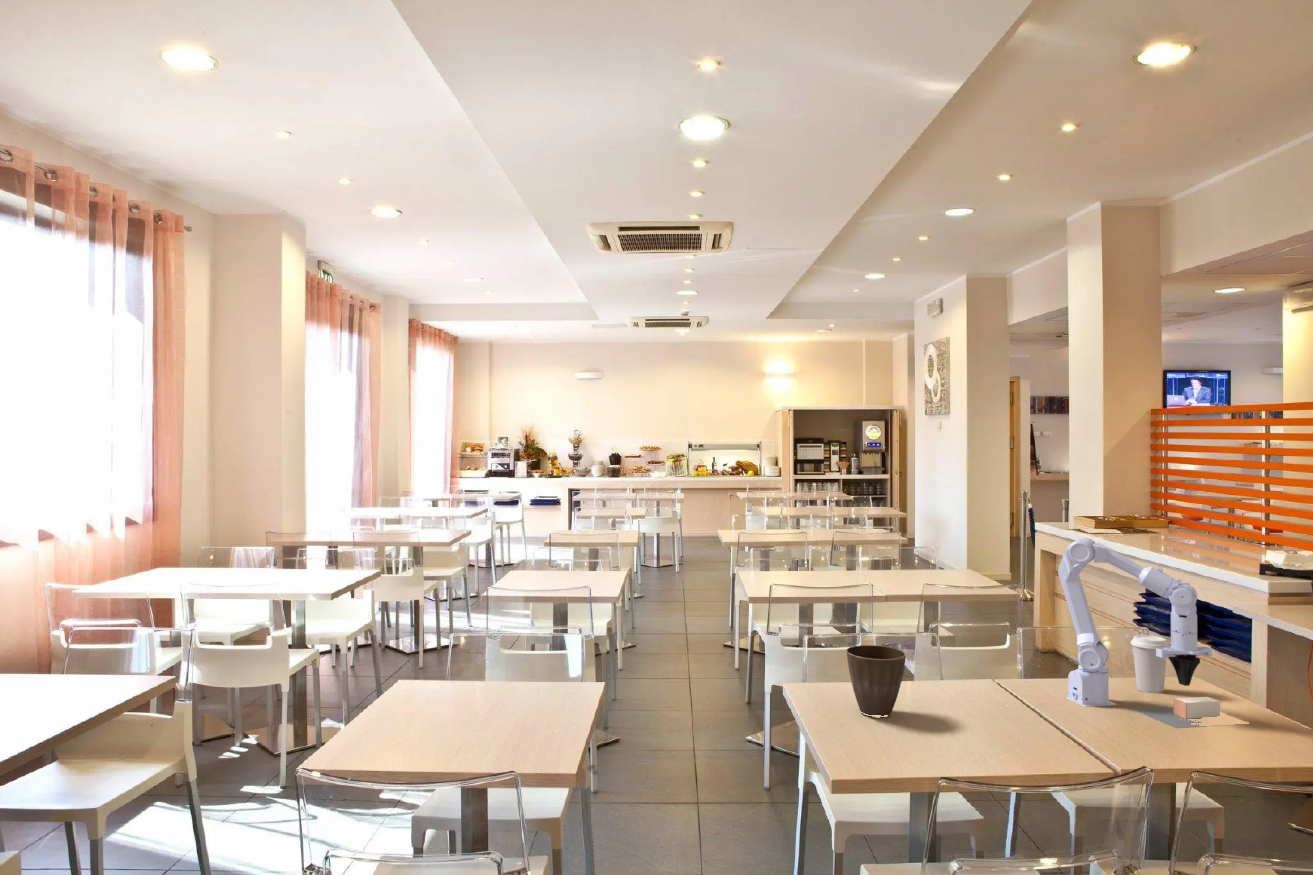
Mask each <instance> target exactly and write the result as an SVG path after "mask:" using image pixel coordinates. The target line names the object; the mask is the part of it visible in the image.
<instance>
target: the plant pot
mask: <svg viewBox="0 0 1313 875" xmlns="http://www.w3.org/2000/svg"><path fill="white" fill-rule="evenodd" d="M845 652H846V656H847V657H846V658H847V666H848V673H849V677H850V681H851V686H852V688H853V694H854V697H855V699H856V700H855V701H856V703H857V707H858V708H859V711H861V712H863V713H865V714H868V715H881V716H884V715H890V714H892V712H893V710H894V708H895V704H896V702H897V699H898V696H899V693H900V688H901V685H902V684H901V683H902V682H903V681H902V680H903V676H904V670H905V663H906V658H907V653H906V652H905V651H903V650H901V649H898V648H897V647H896V648H895V647H892V646H891V647H890V646H885V645H876V644H875V645H872V644H868V645H867V644H866V645H865V644H864V645H863V644H861V645H854V646H850V647H847V649H846V651H845ZM861 712H860V713H861ZM890 716H891V715H890Z"/></svg>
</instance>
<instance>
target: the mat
mask: <svg viewBox="0 0 1313 875" xmlns="http://www.w3.org/2000/svg"><path fill="white" fill-rule="evenodd" d="M1168 706H1169V705H1168ZM1168 706H1167V705H1166V706H1147V707H1145V706H1144V707H1143V706H1142V707H1130V708H1128V709H1130V710H1132V711H1135V712H1137V713H1138V714H1141V715H1144V716H1146V717H1149V718H1151V719H1154V720H1156V721H1159V722H1160V723H1162V724H1166V725H1168V726H1170V727H1173V728H1175V729H1185V728H1206V726H1199V724H1198V725H1197V724H1196V725H1191V723H1202V722H1199V721H1198V722H1194V721H1191V720H1189V721H1188V719H1185V718H1183V717H1180V716H1178V715H1175V714H1174V709H1173V707H1168ZM1180 719H1181V720H1180ZM1191 719H1201V718H1191ZM1195 721H1196V720H1195Z"/></svg>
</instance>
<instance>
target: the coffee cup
mask: <svg viewBox="0 0 1313 875" xmlns="http://www.w3.org/2000/svg"><path fill="white" fill-rule="evenodd" d="M1130 645H1132V653H1133V664H1134V671H1135V673H1134V674H1135V681H1136V690H1137V689H1138V690H1140V691H1139V692H1141V691H1143V692H1142V693H1144V692H1147V693H1146V694H1160V693H1161V692H1162V693H1164V692H1163V691H1164V690H1165V680H1166V679H1165V678H1166V667H1167V658H1168V657H1165V658H1161V657H1158V656H1156V649H1158V648H1165V647H1170V644H1169V643H1168V642H1167V639H1165V638H1164V637H1161V636H1156V635H1147V634H1146V635H1145V634H1138V635H1134V636H1133V638H1132V639H1131V641H1130ZM1138 690H1137V691H1138ZM1148 692H1149V693H1148ZM1162 693H1161V694H1162Z"/></svg>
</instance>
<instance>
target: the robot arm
mask: <svg viewBox="0 0 1313 875" xmlns="http://www.w3.org/2000/svg"><path fill="white" fill-rule="evenodd" d="M1062 555H1063V556H1062V558H1061V562H1060V564H1059V567H1058V570H1057V573H1058V577H1059V580H1060V583H1061V586H1062V589H1063V593H1064V597H1065V600H1066V604H1067V607H1068V610H1069V613H1070V617H1071V620H1072V623H1073V626H1074V631H1075V633H1076V645H1077V649H1078V653H1077V662H1078V666H1077V667H1078V668H1076V669H1075V670H1071V671H1070V672H1069V673H1068V676H1067V691H1068V692H1067V696H1066V699H1067V700H1069V701H1072V702H1074V703H1076V704H1078V705H1081V706H1082V707H1087V708H1088V707H1101V706H1102V707H1105V706H1106V707H1107V706H1117V703H1115V702H1113V701H1110V700H1109V692H1110V691H1109V668H1108V666H1106V663H1107V661H1108V660H1109V656H1110V654H1109V650H1108V649H1107V647H1106V645H1104V644H1103V642H1102V640H1101V637H1100V635H1099V634H1098V631H1097V629H1096V626H1095V623H1094V619H1093V617H1092V612H1091V610H1090V606H1089V603H1088V600H1087V596H1086V593H1085V589H1084V588H1083V583H1082V580H1081V575H1080V574H1081V573H1082V571H1083V570H1084V569H1085V567H1086V566H1087V565H1088V564H1089V563H1090V562H1092V561H1093V564H1094V563H1095V564H1099V563H1100V564H1101V563H1103V564H1109V565H1111V566H1112V567H1115V568H1117V569H1119V570H1121V571H1123V572H1125V573H1127V574H1129V575H1131V576H1133V577H1135V578H1137V579H1138V582H1139V585H1140V586H1142V587H1143V588H1145V589H1147V590H1149V591H1150V592H1153V593H1155V594H1156V595H1158V596H1160V597H1162V598H1164V599H1168V600H1169V602H1170V603H1171V612H1170V645H1169V647H1165V648H1158V649H1156V656H1158V657H1161V658H1165V657H1167V658H1168V660H1169V662H1170V663H1171V664H1172V667H1173V669H1174V670H1175V674H1176V677H1177V681H1178V684H1179V685H1181V686H1188V687H1189V686H1190V685H1191V682H1192V678H1193V675H1194V673H1195V671H1196V669H1197V667H1198V666H1199V664H1200V663H1201V658H1199V657H1198V656H1204V657H1205V656H1206V657H1212V656H1213V648H1211V647H1207V646H1198V614H1197V611H1198V610H1197V608H1198V607H1197V606H1196V605H1197V604H1196V603H1197V601H1198V600H1197V599H1198V592H1197V590H1196V589H1195V587H1194V586H1192V585H1191V584H1190V583H1188V582H1182V579H1180V578H1179V577H1178V578H1175V577H1173V576H1171V575H1169V574H1167V573H1165V572H1163V571H1164V569H1163V568H1161V567H1160V566H1158V567H1154V566H1149V567H1144V566H1142V565H1140V564H1139V563H1137V562H1135V561H1133V560H1132V559H1130V558H1128V557H1126V556H1125V555H1123V554H1121V553H1120V552H1118V551H1116V550H1114V549H1113V548H1111V547H1109V546H1106V545H1104V544H1102V543H1100V542H1095V541H1094V540H1093V539H1091V538H1088V537H1087V538H1086V537H1083V538H1080V539H1078V540H1075V541H1072V542H1071V543H1070V544H1069V545H1068V546H1067V547H1066V549H1065V550H1064V551H1063V554H1062Z"/></svg>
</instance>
